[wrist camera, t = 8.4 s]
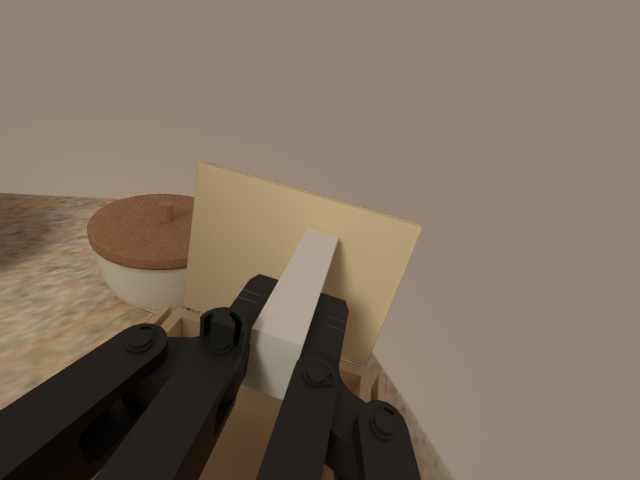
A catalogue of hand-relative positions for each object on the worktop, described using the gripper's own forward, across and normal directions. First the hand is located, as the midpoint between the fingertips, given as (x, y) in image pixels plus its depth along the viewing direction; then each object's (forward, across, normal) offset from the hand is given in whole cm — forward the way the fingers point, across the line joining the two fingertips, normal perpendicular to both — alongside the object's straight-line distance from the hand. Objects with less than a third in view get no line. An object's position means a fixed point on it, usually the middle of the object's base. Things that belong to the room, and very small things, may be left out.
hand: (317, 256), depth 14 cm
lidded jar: (+8, -13, -14) cm, 21 cm away
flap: (0, -1, -6) cm, 6 cm away
